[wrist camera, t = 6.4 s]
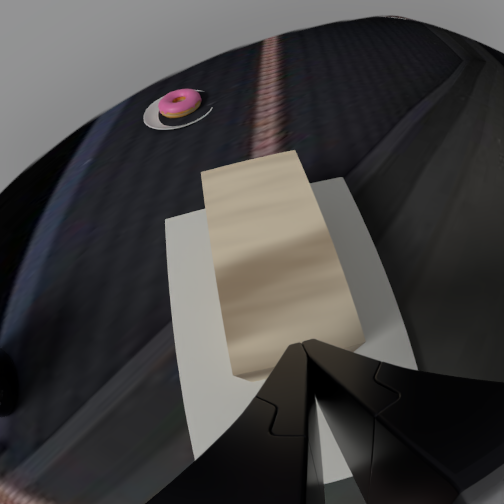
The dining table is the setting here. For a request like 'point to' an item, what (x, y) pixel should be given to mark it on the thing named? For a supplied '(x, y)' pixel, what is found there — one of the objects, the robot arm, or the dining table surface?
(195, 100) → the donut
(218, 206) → the block
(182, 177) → the dining table surface
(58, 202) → the dining table surface
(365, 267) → the mat
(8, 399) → the supplement bottle
